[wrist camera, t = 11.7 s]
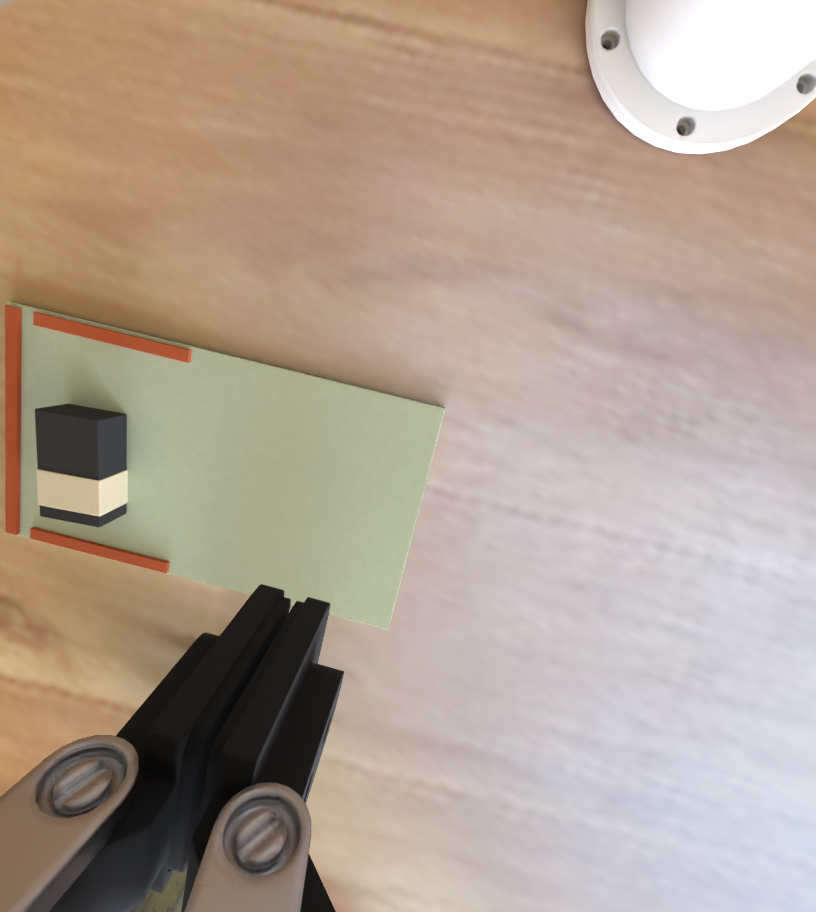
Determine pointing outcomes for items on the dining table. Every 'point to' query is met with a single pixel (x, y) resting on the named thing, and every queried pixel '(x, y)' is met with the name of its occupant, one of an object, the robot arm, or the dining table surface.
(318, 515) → the desk mat
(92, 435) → the eraser
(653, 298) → the dining table surface
